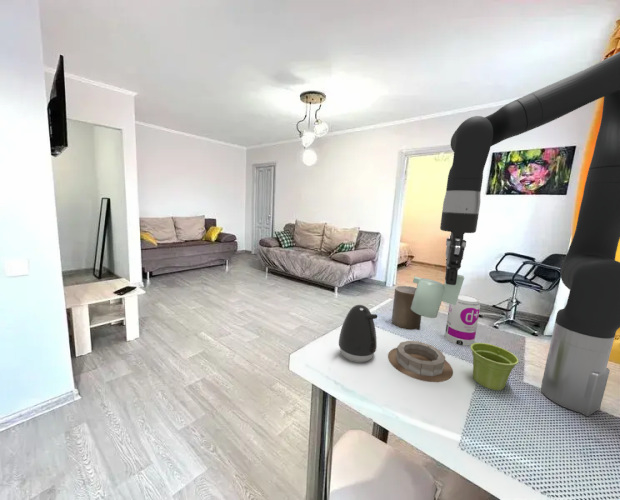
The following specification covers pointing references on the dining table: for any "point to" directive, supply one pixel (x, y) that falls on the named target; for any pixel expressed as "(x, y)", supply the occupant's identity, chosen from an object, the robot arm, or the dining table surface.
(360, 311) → the dark rounded figure
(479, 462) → the dining table surface
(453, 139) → the robot arm
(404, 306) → the pillar candle
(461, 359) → the dining table surface
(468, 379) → the dining table surface
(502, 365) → the plant pot
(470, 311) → the supplement can
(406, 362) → the stone ring brown dish
